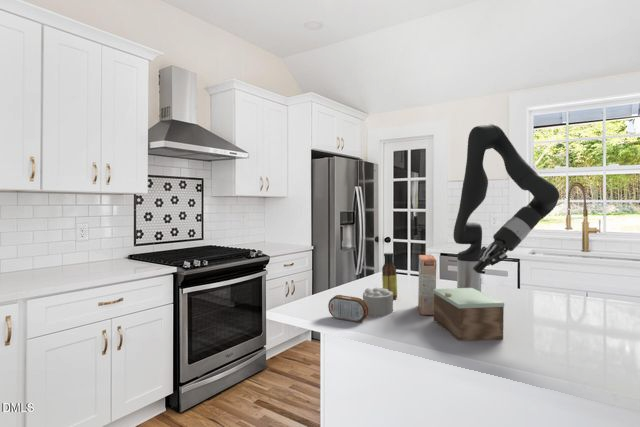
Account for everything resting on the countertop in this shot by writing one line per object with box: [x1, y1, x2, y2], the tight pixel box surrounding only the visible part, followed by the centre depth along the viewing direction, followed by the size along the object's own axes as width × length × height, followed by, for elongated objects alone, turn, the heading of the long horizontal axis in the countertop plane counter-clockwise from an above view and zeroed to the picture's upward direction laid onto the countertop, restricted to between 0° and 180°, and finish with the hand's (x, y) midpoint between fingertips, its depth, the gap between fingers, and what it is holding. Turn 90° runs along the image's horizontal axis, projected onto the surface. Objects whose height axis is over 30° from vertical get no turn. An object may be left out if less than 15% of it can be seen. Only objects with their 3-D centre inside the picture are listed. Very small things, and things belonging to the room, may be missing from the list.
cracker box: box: [417, 254, 437, 316], centre depth 149 cm, size 14×6×21 cm, turn 168°
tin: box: [327, 294, 368, 323], centre depth 138 cm, size 15×3×8 cm, turn 59°
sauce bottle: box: [381, 252, 398, 300], centre depth 168 cm, size 6×6×20 cm
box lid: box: [433, 287, 505, 308], centre depth 127 cm, size 14×21×2 cm
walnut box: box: [433, 293, 505, 342], centre depth 127 cm, size 14×20×10 cm
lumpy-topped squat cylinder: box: [362, 287, 394, 318], centre depth 148 cm, size 10×13×9 cm
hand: (475, 271), depth 127 cm, fingers closed
